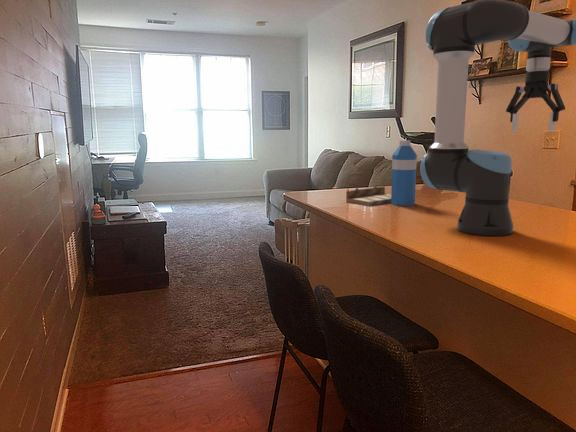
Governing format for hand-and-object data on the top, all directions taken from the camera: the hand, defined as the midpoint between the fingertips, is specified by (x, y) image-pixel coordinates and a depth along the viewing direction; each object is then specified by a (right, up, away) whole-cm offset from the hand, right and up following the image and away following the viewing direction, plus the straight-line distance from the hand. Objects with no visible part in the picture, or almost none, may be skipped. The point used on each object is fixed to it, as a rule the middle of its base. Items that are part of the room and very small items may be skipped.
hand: (532, 131), depth 167 cm
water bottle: (-44, -27, +14) cm, 54 cm away
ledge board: (-53, -25, +22) cm, 63 cm away
